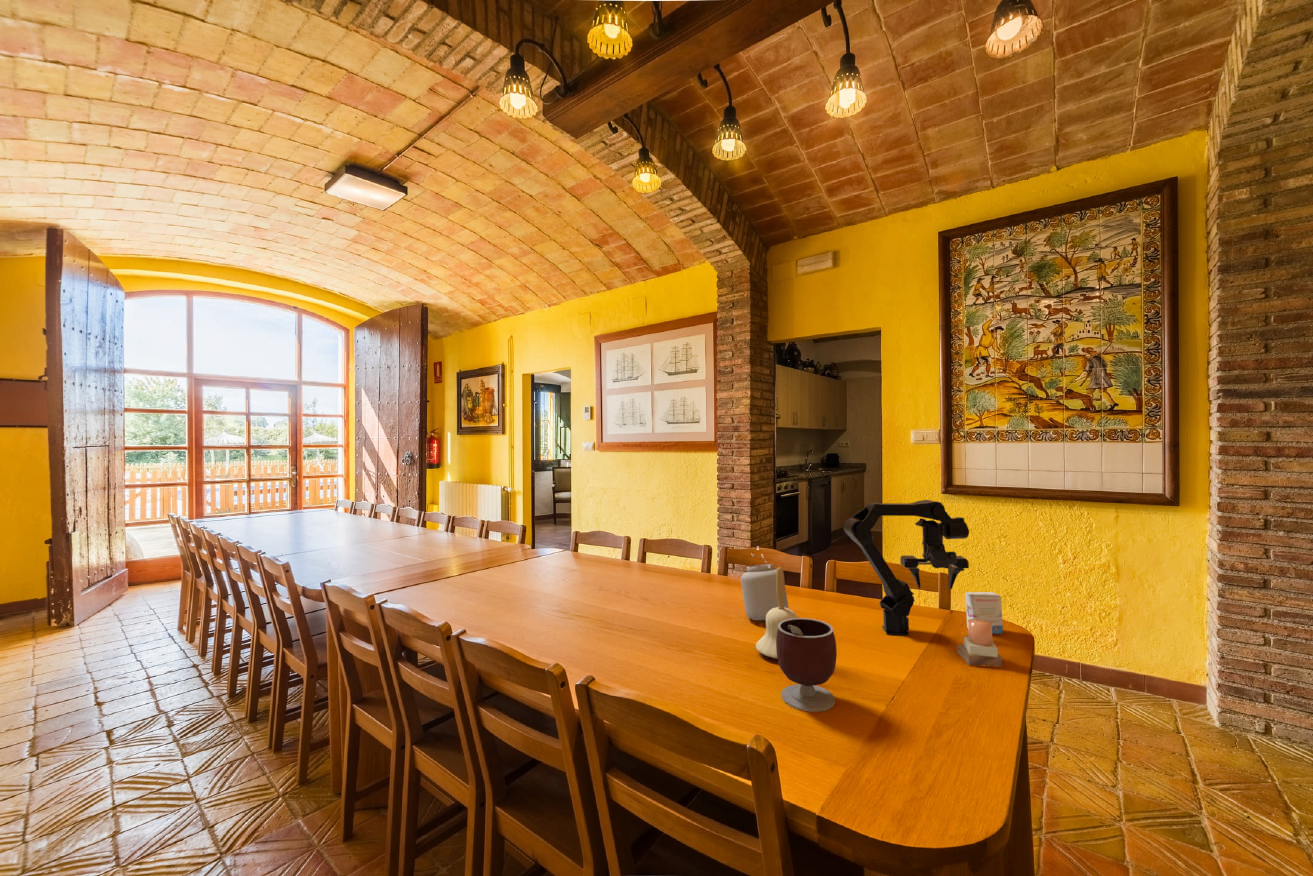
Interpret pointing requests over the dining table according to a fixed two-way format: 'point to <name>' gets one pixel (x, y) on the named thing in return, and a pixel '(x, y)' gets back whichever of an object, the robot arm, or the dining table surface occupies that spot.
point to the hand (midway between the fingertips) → (934, 588)
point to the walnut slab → (978, 658)
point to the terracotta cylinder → (980, 632)
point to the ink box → (985, 609)
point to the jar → (760, 591)
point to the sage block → (980, 649)
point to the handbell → (775, 619)
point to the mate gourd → (806, 662)
